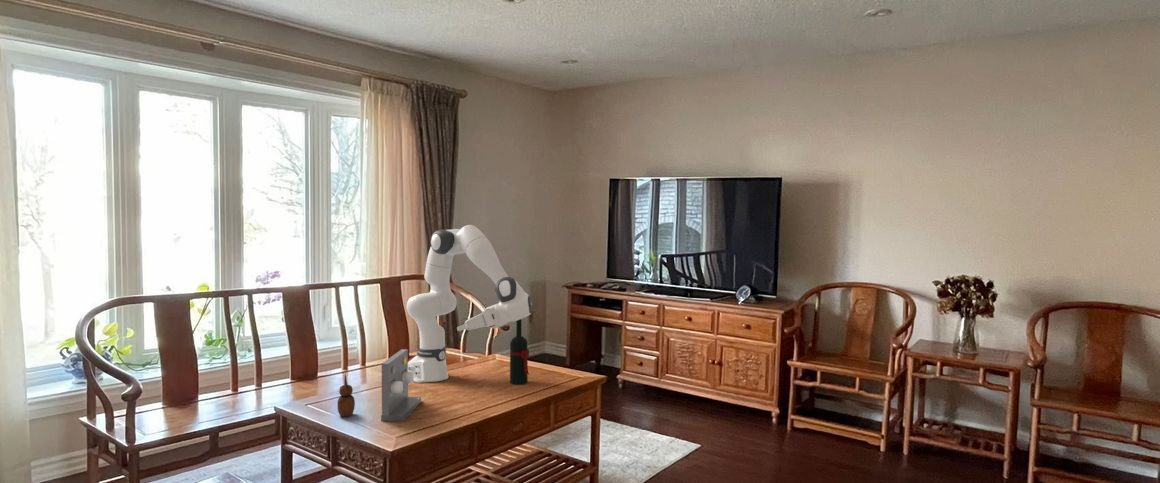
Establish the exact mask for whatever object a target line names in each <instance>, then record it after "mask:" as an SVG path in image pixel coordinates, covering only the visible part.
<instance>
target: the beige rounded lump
mask: <svg viewBox="0 0 1160 483" xmlns="http://www.w3.org/2000/svg"><path fill="white" fill-rule="evenodd" d="M413 380H414V373H413V372H404V373H403V377H402V381H403V383H408V384H413V383H414V381H413Z"/></svg>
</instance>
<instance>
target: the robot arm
mask: <svg viewBox="0 0 1160 483" xmlns="http://www.w3.org/2000/svg"><path fill="white" fill-rule="evenodd" d="M464 254H465V255H466V257H467V258H468V259H469V260H470V261H471V262H472V263H473V264H474V266H476V267H477V268H478V269H479V270H481V272H483V273H484V274H486V275H487V277H489V278H490V280H491V281H492V282H493V283H494V292H495V295H496V296H497V299H498V300H499V302H498V303H495V304H492V305H490V306H487V307H486V308H485V309H484V310H483V311H482V312H481V313H479V314H477V315H475V316H473V317H471V318H469V319H467V320H465V321H464V323H463V324H462V325H459V326H457V327H456V330H457V332H461V331H465V330H467V331H471V330H472V331H473V330H477V329H480V328H485V327H486V328H492V329H493V330H494V329H497V328H501V327H502V326H505V325H507V324H509V323H513V322H516V321H517V320H520V319H521V320H522V319H524V318H527V317H528V316H530V315H531V314H533V311H534V302H533V298H532V296H531V295H530V294H528V293H527V292H526V290H524V289H523V287H522V286H521V285H520V284H519V283H518V281H517V280H516V279H515V278H513V277H511V276H509V275H508V274H507V273H506V271H505V270H504V268H503V266H502V264H501V261H500V259H499V258H498V255H497V253H496V251H495V249H494V247H493V245H492V243H491V242H490V240H489V239H488V237H487V236H486V235H485V234H484V233H483V232H482V230H480V229H479V228H478V227H477V226H475V225H473V224H467V225H464V226H463V227H461V228H452V229H439V230H436V231H434V232H433V233H432V235H431V237H430V248H429V250H428V254H427V259H426V264H425V269H424V276H423V278H424V280H425V283H426V282H427V284H428V285H429V286H430V290H429V292H425V293H423V292H422V293H419V294H416V295H413V296H411V297H409V298H408V300H407V302H406V312H407V314H408V315H409V317H410V318H412V319H413V320H414V321H415V323H416V325H417V328H418V333H419V347H417V348H416V349H415V352H416V356H414V357H412V358H411V359H410V360H409V361H408V372H413V373H414V380H413V383H414V382H415V383H419V384H420V383H433V382H434V383H435V382H440V381H445V380H447V379H449V372H448V367H447V360H446V359H447V358H446V356H447V347H446V341H445V339H446V338H445V336H446V334H445V332H446V331H445V329H444V327H443V326H441V325H440V324H438V320H437V317H439V316H443V315H444V316H445V315H447V314H449V313H451V312H453V311H455V310H456V307H457V305H458V304H457V303H458V302H457V301H458V300H457V297H456V295H455V294H454V293H453V292H452V289H451V286H450V280H451V273H452V265H453V259H454V256H455V255H456V256H457V255H464Z"/></svg>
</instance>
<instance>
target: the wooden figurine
mask: <svg viewBox="0 0 1160 483" xmlns="http://www.w3.org/2000/svg"><path fill="white" fill-rule="evenodd" d="M338 390H339V391H338V392H339V395H340V396H339V397H338V400H337V412H338V414H339V416H340V417H342V418H343V417H344V418H346V417H351V416H352V415H353V414H354V410H355V407H356V406H355V405H356V402H355V397H354V396H353V390H354V389H353V387H352V385H351V384H348V381H347V376H346V374H345V373H344V384H343V385H340V387H339V389H338Z"/></svg>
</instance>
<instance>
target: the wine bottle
mask: <svg viewBox="0 0 1160 483" xmlns="http://www.w3.org/2000/svg"><path fill="white" fill-rule="evenodd" d="M515 322H516V326H515V327H516V329H515V330H516V335H515V336H514V337H512V338H511V341H510V343H509V344H510V345H509V347H510V348H509V349H510V350H509V359H510V360H509V383H510V384H511V385H515V386H518V385H519V386H521V385H526V384H528V376H529V375H530V373H529V370H528V369H529V367H528V358H529V357H530V350H529V348H528V340H527V338H525V337H524V336H523V335H522V319H520V320H517V321H515Z"/></svg>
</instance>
